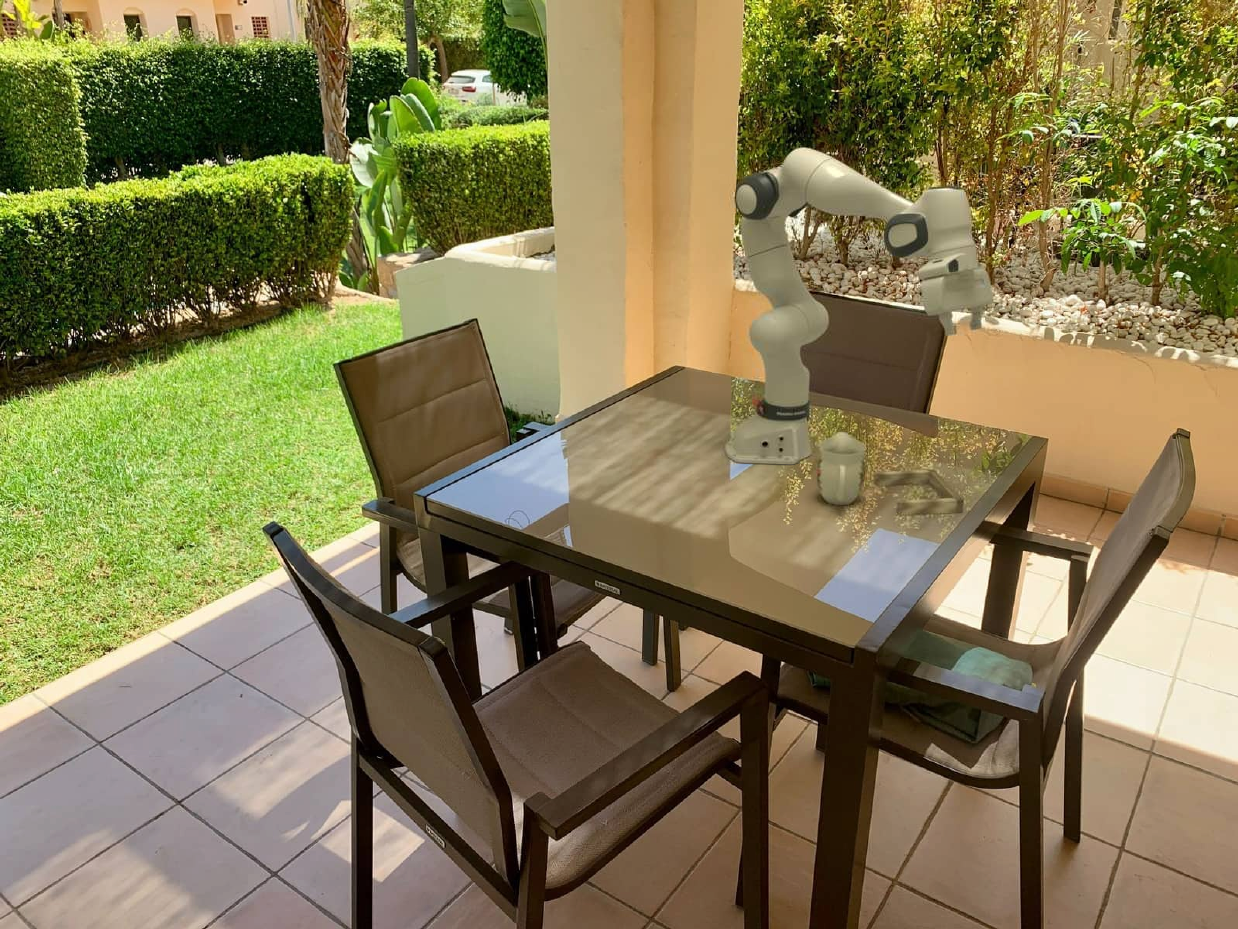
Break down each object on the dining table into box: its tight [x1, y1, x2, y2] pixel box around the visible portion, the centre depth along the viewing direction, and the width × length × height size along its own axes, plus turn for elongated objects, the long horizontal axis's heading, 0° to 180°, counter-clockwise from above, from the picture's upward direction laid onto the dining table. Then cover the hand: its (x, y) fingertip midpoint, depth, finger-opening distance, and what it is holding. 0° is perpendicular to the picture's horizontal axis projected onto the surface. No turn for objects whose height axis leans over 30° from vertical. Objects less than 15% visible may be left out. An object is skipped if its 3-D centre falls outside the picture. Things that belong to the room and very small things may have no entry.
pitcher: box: [815, 431, 867, 506], centre depth 212 cm, size 11×18×14 cm, turn 169°
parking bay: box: [873, 469, 965, 516], centre depth 215 cm, size 14×18×3 cm
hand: (964, 332), depth 190 cm, fingers open, 8 cm apart
